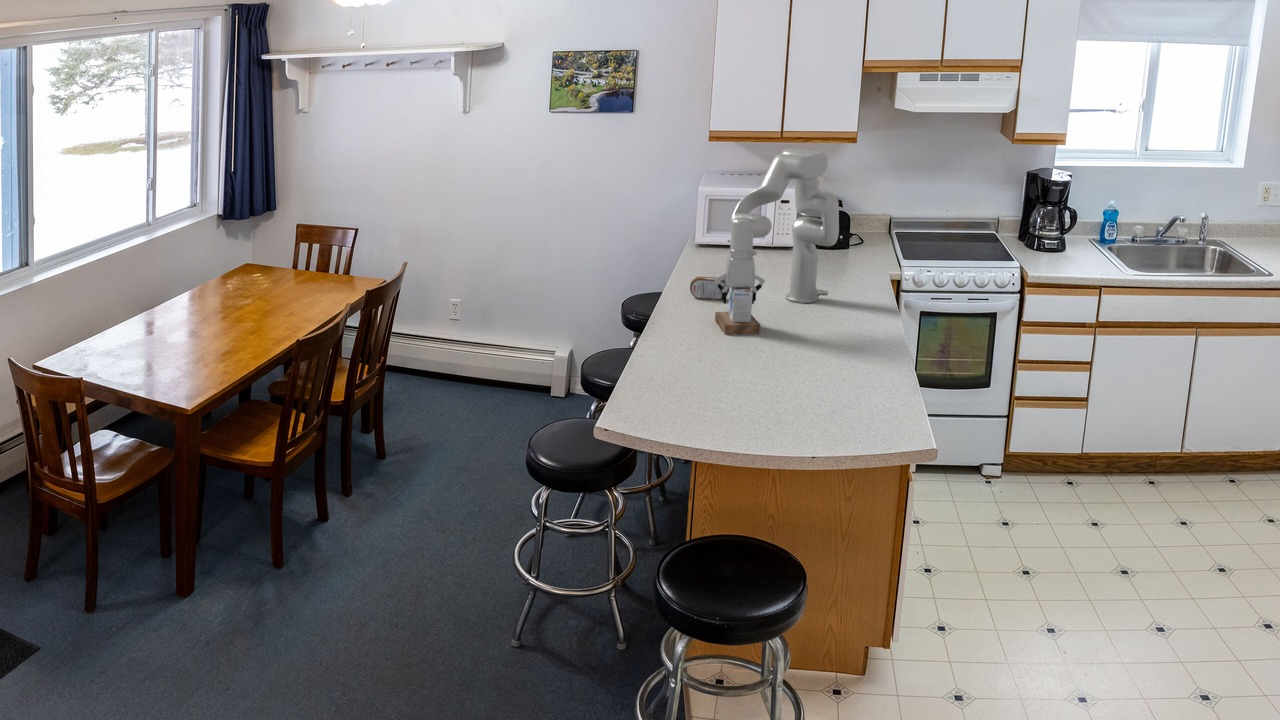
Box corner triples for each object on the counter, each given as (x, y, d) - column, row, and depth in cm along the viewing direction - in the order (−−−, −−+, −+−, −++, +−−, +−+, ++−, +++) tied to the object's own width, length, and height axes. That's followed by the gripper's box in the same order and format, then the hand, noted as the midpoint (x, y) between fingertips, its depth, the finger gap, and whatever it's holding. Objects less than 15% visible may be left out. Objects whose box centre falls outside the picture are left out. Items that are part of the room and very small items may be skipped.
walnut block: (747, 322, 368) (748, 311, 367) (759, 335, 353) (759, 324, 352) (715, 322, 367) (715, 311, 365) (724, 336, 352) (725, 325, 350)
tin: (728, 298, 395) (730, 277, 392) (728, 301, 392) (729, 279, 390) (689, 296, 397) (690, 275, 394) (689, 299, 394) (690, 277, 391)
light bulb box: (727, 313, 364) (729, 283, 360) (746, 313, 364) (748, 284, 361) (731, 322, 354) (733, 291, 350) (751, 322, 354) (753, 292, 350)
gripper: (764, 252, 356) (761, 300, 361) (714, 251, 354) (712, 299, 360) (768, 257, 349) (765, 306, 354) (717, 256, 347) (714, 305, 353)
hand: (738, 302), depth 357 cm, fingers open, 9 cm apart
